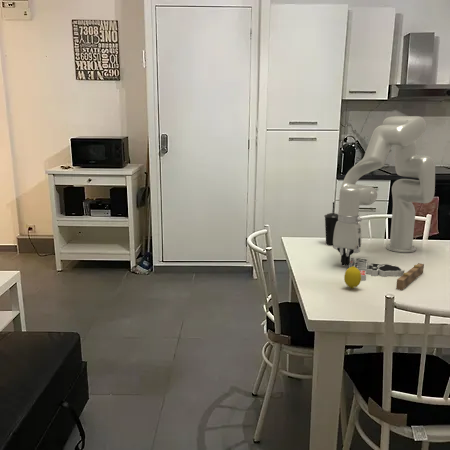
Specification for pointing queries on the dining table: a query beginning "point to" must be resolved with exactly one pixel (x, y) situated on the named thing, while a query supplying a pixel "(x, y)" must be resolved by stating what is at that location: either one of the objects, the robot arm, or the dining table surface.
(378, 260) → the dining table surface
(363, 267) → the decorative sign
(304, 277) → the dining table surface
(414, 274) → the walnut ledge
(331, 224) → the drinking cup
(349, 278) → the lemon
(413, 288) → the dining table surface
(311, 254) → the dining table surface
